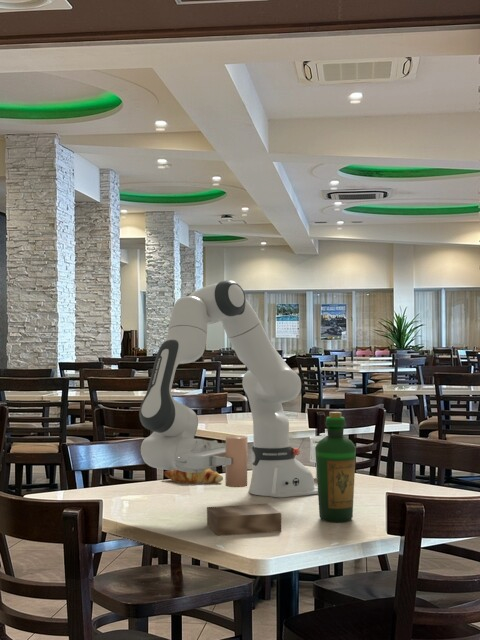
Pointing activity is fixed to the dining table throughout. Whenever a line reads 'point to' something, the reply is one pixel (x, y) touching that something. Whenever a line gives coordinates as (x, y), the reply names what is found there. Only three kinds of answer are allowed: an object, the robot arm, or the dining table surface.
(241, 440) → the pink upright cylinder
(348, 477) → the bottle
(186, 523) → the dining table surface
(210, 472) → the croissant
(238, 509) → the brown rectangular block
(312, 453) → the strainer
